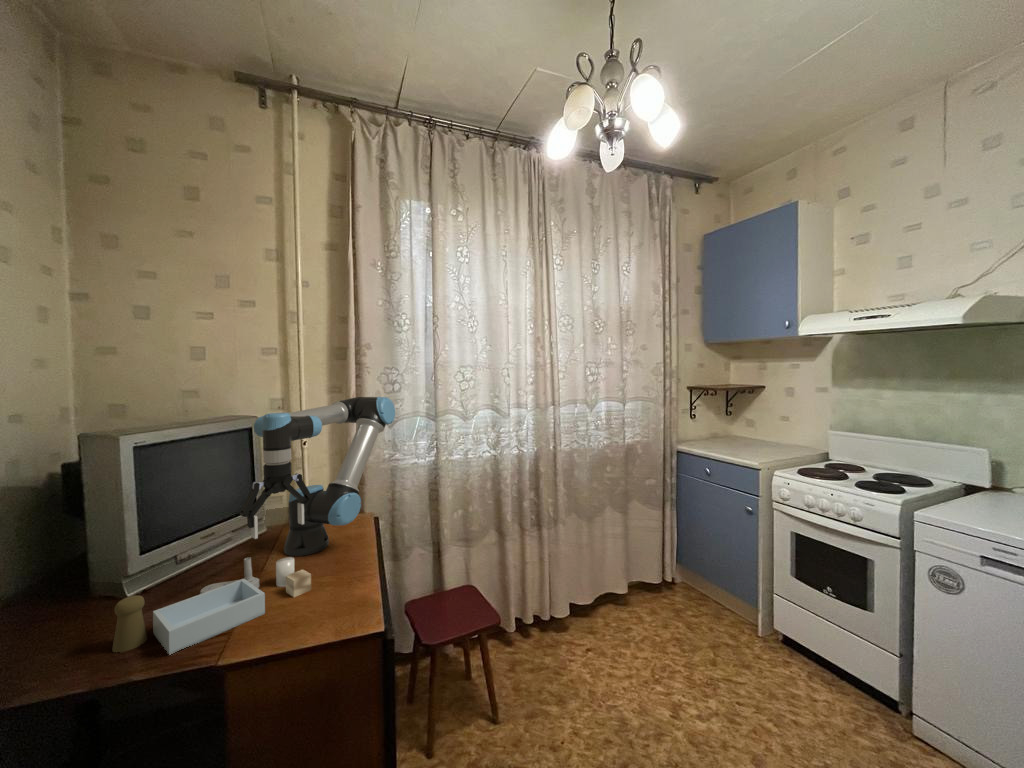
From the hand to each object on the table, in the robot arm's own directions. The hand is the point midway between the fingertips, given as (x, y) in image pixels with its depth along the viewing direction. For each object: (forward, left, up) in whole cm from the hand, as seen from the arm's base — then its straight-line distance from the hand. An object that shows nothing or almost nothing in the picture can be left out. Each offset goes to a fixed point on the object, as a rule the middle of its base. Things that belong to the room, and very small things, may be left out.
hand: (278, 530), depth 121 cm
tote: (+19, +7, -17) cm, 27 cm away
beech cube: (-2, +9, -17) cm, 19 cm away
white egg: (-2, +1, -17) cm, 17 cm away
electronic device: (+11, -7, -17) cm, 22 cm away
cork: (+34, 0, -17) cm, 38 cm away
